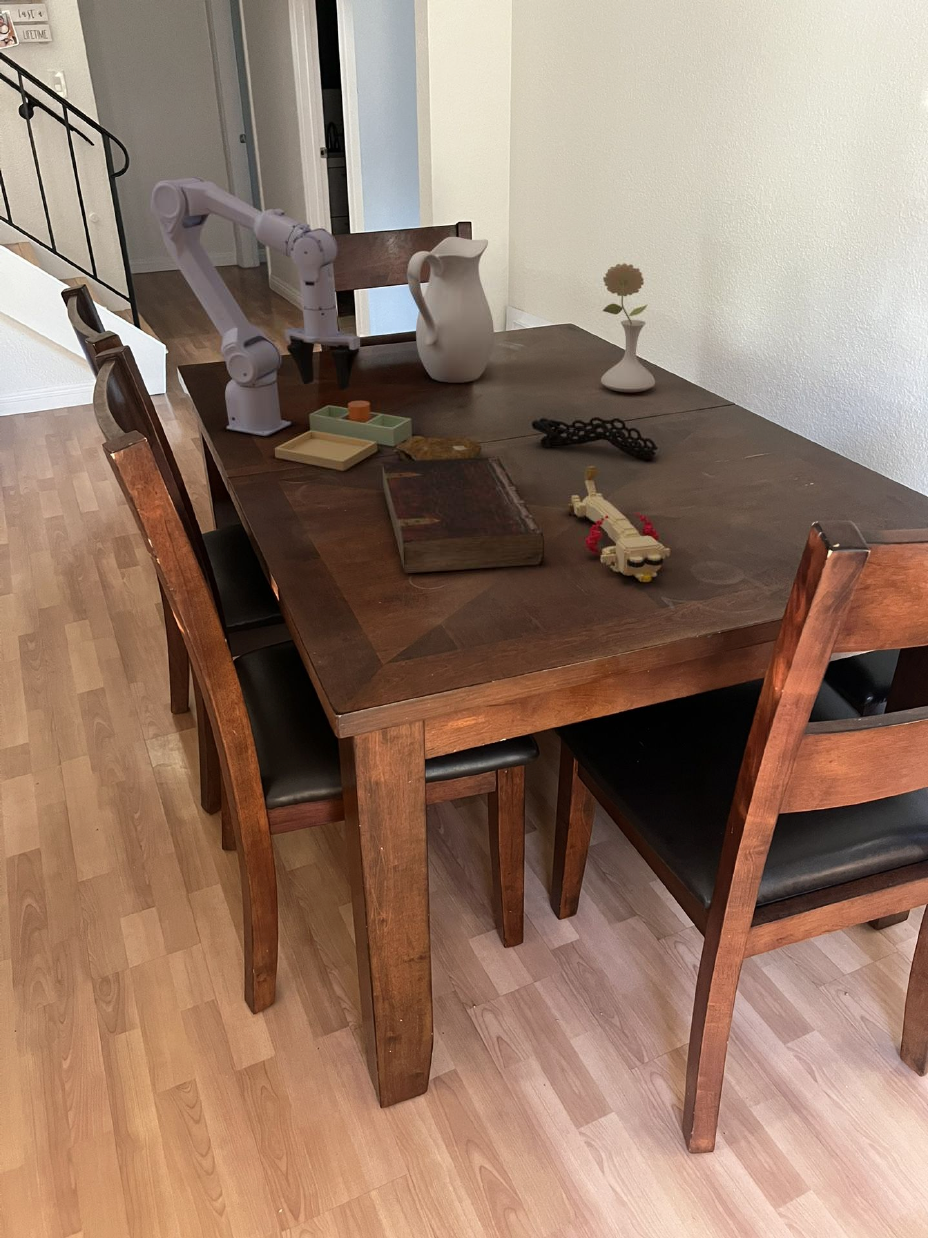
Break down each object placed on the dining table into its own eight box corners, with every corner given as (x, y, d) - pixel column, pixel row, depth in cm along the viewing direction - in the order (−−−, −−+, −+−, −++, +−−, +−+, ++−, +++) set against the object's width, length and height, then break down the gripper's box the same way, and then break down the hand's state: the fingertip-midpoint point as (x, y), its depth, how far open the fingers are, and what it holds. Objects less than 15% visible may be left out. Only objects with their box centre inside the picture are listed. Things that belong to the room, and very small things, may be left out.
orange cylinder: (345, 431, 166) (343, 405, 163) (357, 425, 169) (355, 399, 166) (363, 434, 164) (362, 408, 161) (375, 428, 167) (374, 402, 164)
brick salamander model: (553, 522, 135) (611, 587, 113) (555, 465, 132) (615, 522, 110) (615, 516, 137) (684, 579, 115) (619, 460, 133) (691, 515, 111)
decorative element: (658, 455, 156) (661, 422, 153) (650, 464, 152) (654, 430, 149) (537, 438, 164) (538, 406, 161) (527, 446, 160) (528, 414, 157)
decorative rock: (392, 477, 149) (482, 479, 149) (391, 454, 147) (483, 456, 147) (395, 449, 158) (480, 451, 159) (395, 427, 156) (481, 429, 157)
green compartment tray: (310, 431, 168) (308, 414, 166) (329, 421, 173) (328, 404, 171) (394, 446, 161) (393, 428, 159) (411, 435, 165) (411, 418, 164)
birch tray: (275, 457, 156) (274, 448, 155) (311, 438, 164) (310, 429, 163) (343, 470, 150) (343, 461, 150) (377, 450, 159) (376, 441, 158)
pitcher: (447, 362, 210) (446, 233, 195) (508, 373, 201) (510, 240, 187) (381, 386, 193) (374, 247, 179) (444, 399, 184) (442, 255, 170)
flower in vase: (662, 386, 192) (676, 262, 179) (641, 400, 184) (654, 271, 171) (606, 377, 198) (616, 257, 185) (584, 390, 190) (592, 265, 177)
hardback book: (543, 563, 121) (544, 530, 118) (404, 575, 118) (403, 541, 116) (499, 483, 145) (499, 454, 143) (383, 491, 143) (382, 461, 140)
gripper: (270, 307, 154) (279, 385, 161) (341, 315, 148) (347, 396, 155) (295, 299, 159) (302, 375, 166) (364, 307, 153) (369, 385, 160)
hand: (325, 385), depth 161 cm, fingers open, 7 cm apart
